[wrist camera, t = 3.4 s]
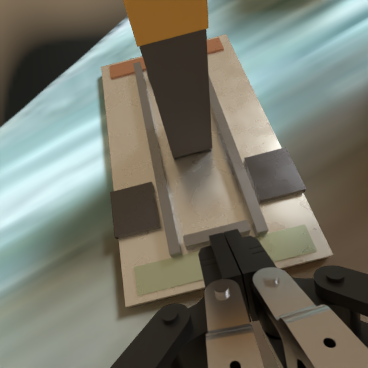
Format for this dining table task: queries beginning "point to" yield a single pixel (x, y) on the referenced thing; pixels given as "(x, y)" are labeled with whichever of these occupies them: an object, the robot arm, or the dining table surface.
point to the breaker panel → (199, 182)
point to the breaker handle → (176, 67)
